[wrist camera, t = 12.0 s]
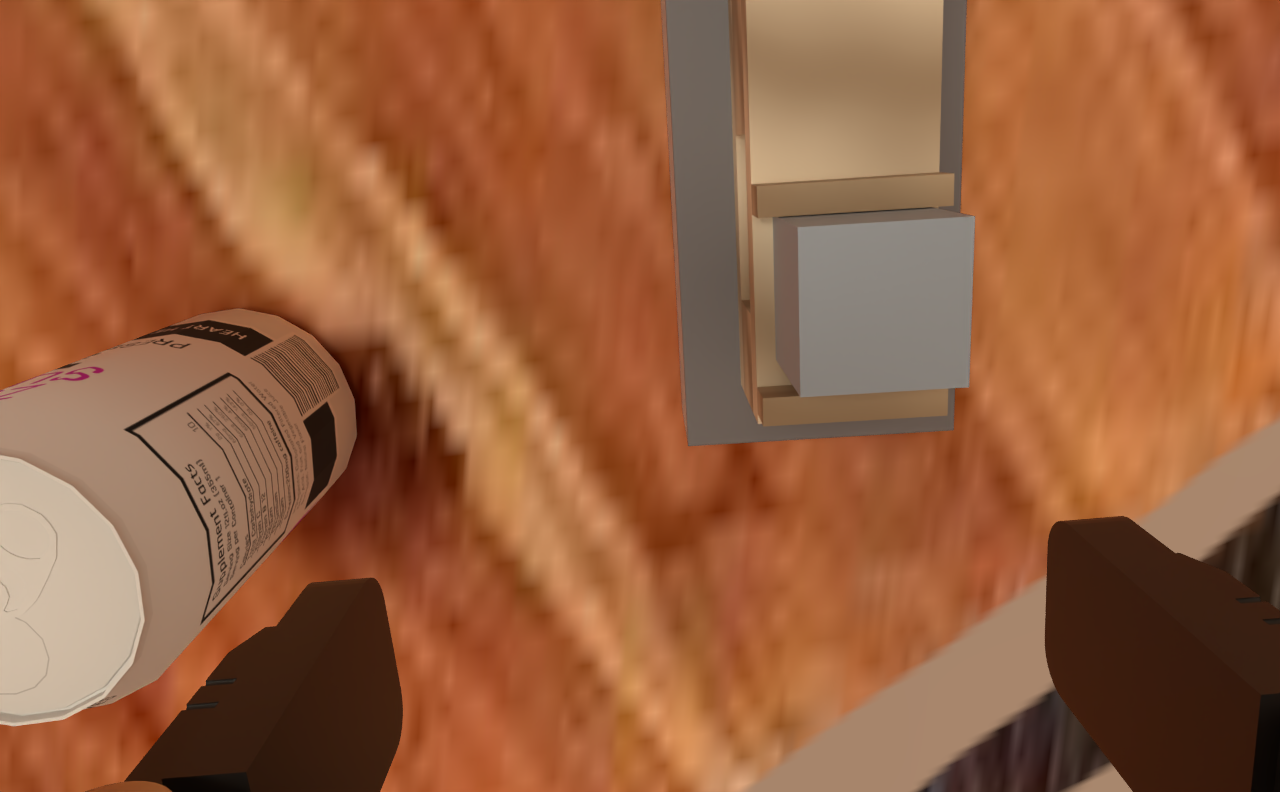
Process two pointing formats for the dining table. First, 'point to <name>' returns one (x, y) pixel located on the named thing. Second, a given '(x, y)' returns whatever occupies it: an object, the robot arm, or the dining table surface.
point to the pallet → (828, 159)
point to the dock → (710, 228)
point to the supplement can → (153, 498)
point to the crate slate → (874, 300)
